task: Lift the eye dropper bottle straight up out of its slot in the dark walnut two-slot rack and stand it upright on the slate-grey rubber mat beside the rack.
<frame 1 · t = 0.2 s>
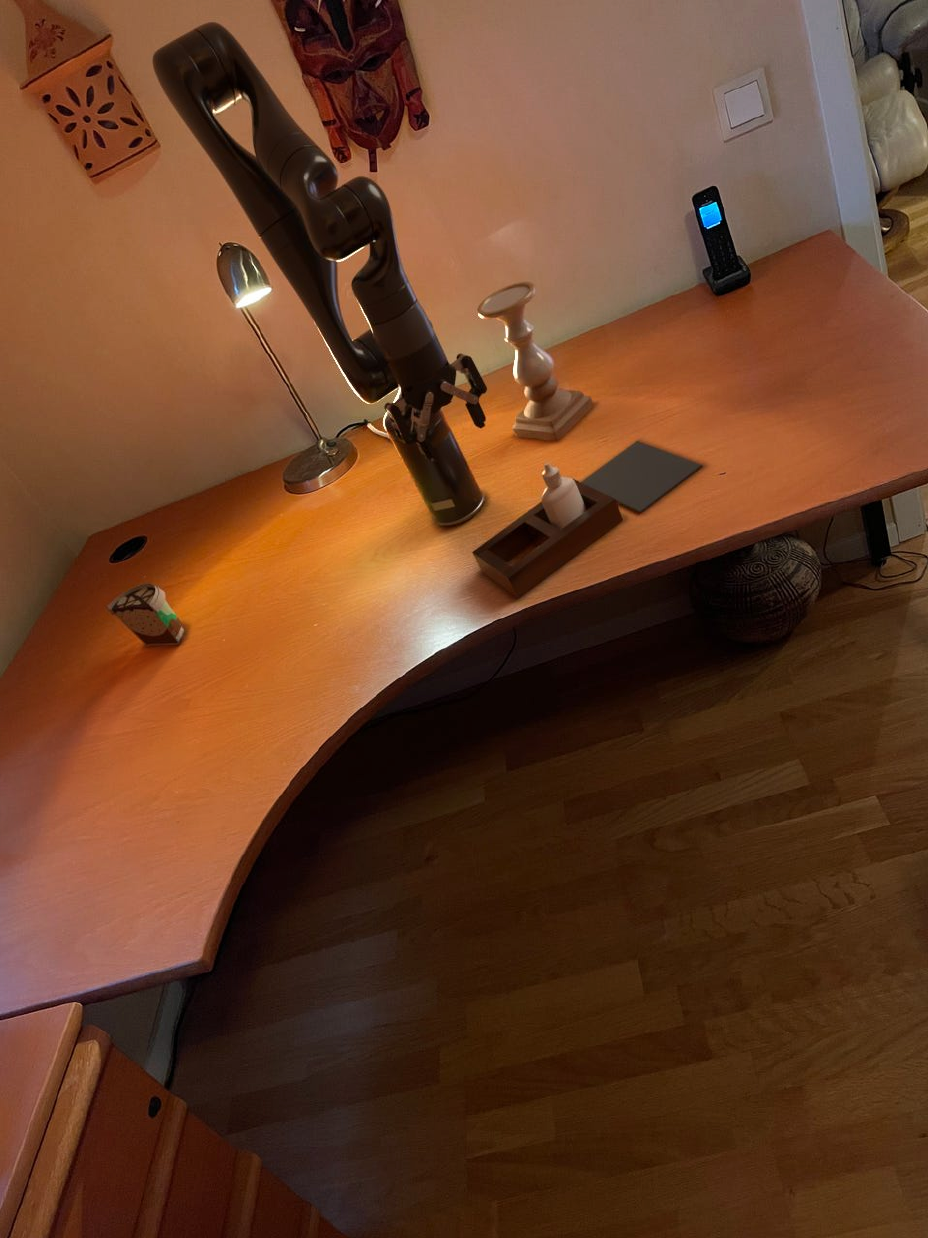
hand: (457, 442, 120), 17 cm above the table, tool pointing down, fingers open, 8 cm apart
mat: (639, 476, 126), on the table
eye dropper bottle: (574, 530, 123), resting in rack
food container: (173, 633, 151), on the table
rack: (551, 546, 122), on the table
candle holder: (554, 421, 150), on the table
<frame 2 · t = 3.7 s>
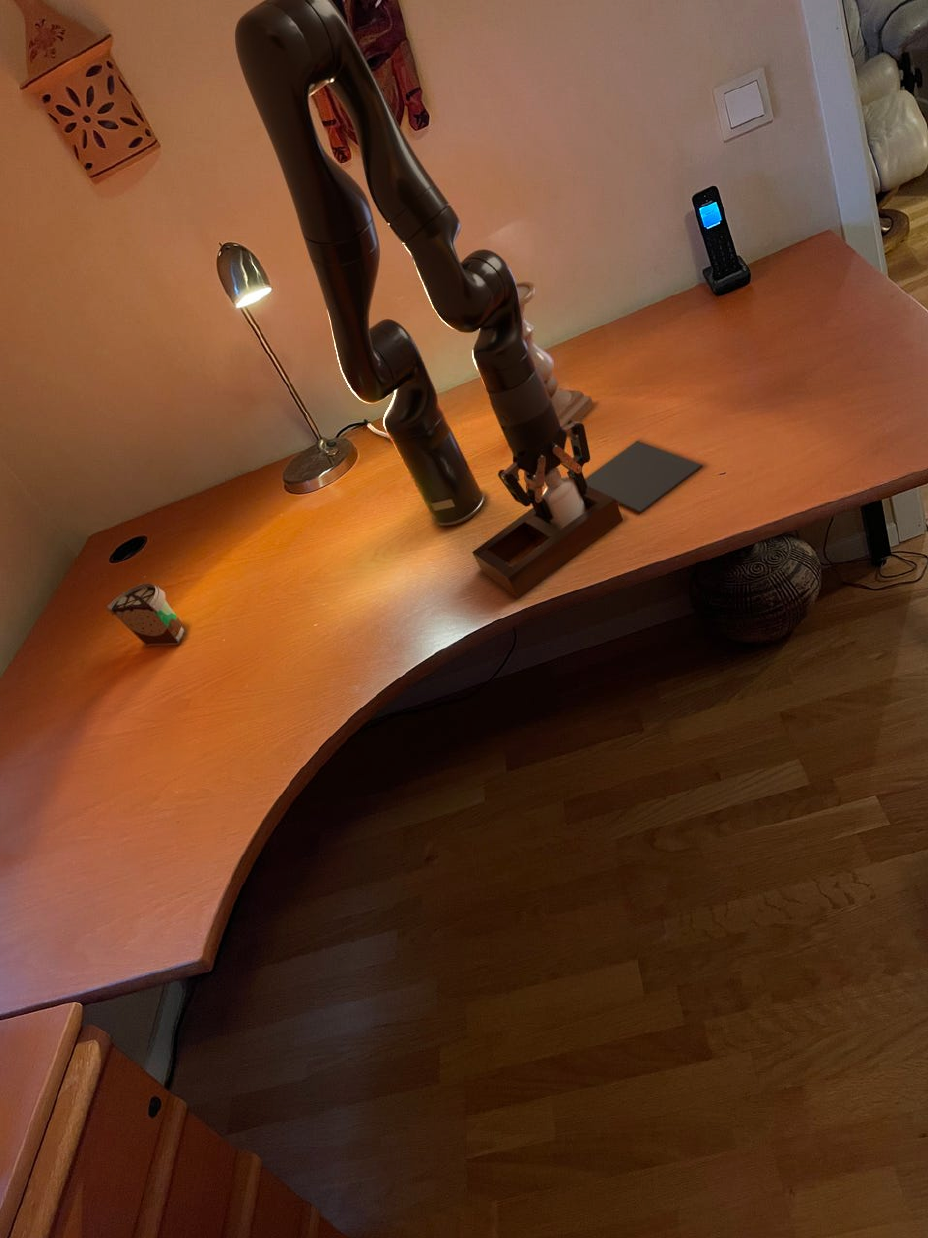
hand: (564, 505, 120), 5 cm above the table, tool pointing down, fingers closed on eye dropper bottle, 5 cm apart
eye dropper bottle: (574, 530, 123), resting in rack, touching gripper
everything else where it was.
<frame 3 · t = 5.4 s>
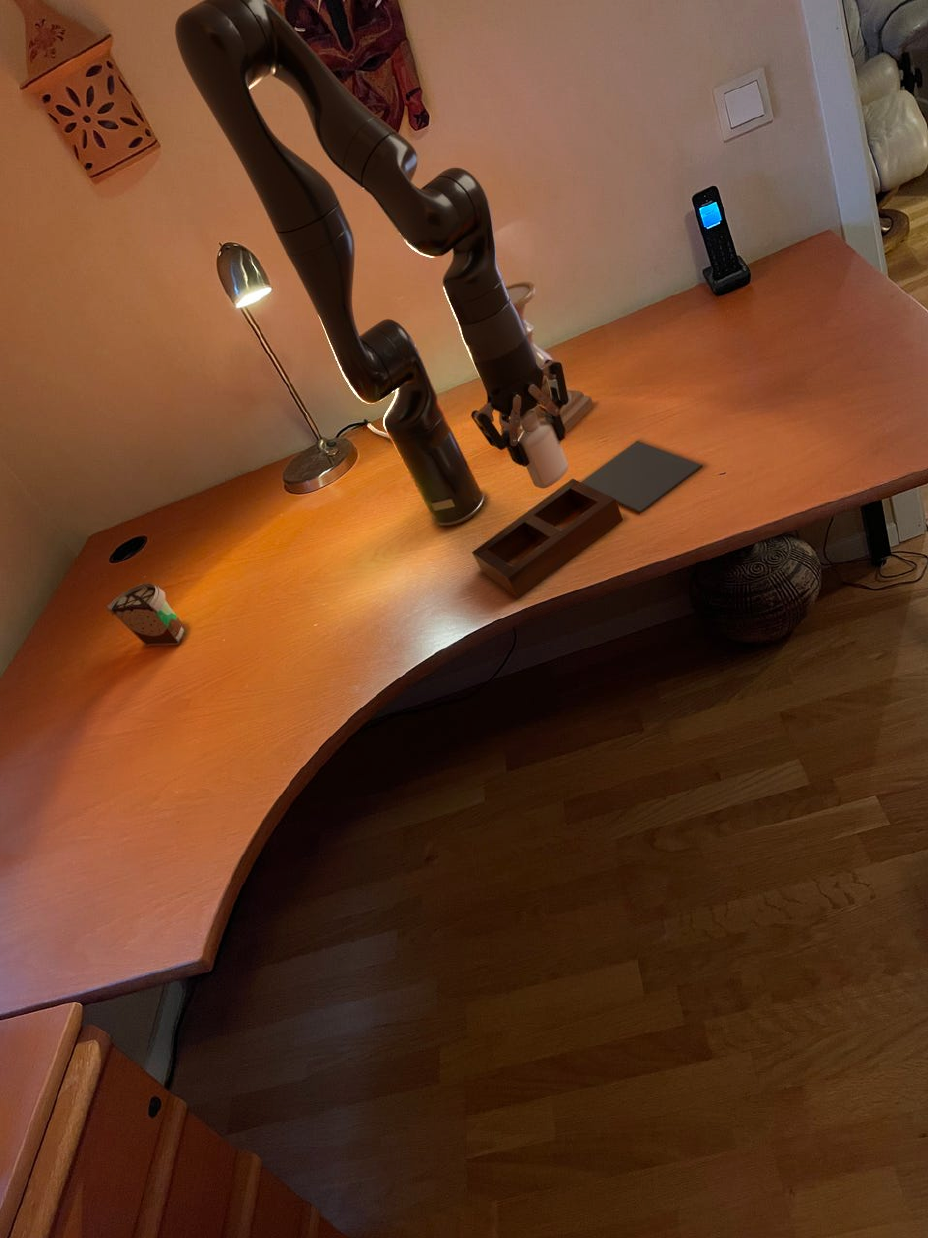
hand: (541, 450, 115), 14 cm above the table, tool pointing down, fingers closed on eye dropper bottle, 5 cm apart
eye dropper bottle: (552, 478, 118), point 9 cm above the table, touching gripper
everything else where it was.
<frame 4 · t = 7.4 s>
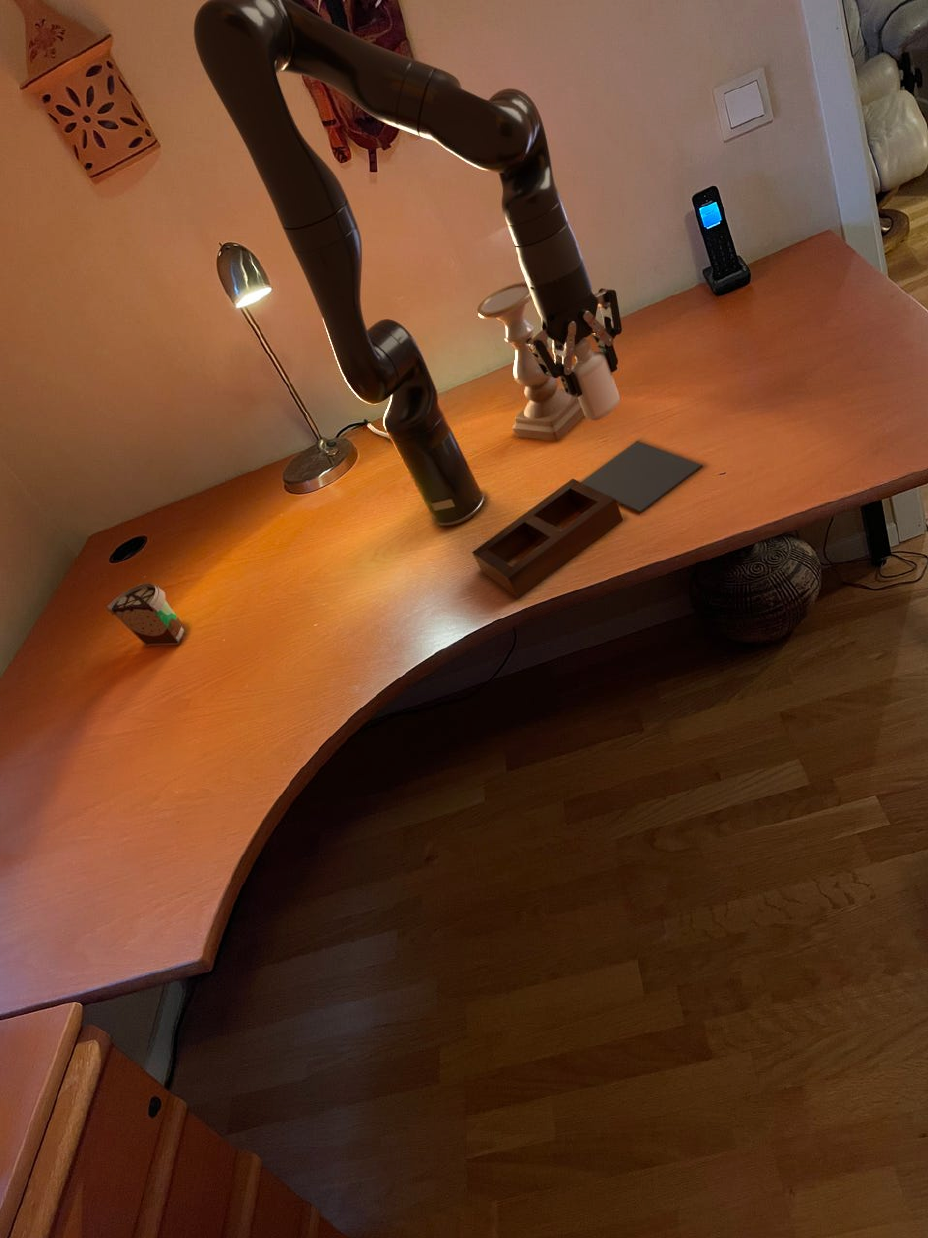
hand: (593, 382, 115), 18 cm above the table, tool pointing down, fingers closed on eye dropper bottle, 5 cm apart
eye dropper bottle: (604, 411, 118), point 13 cm above the table, touching gripper
everything else where it was.
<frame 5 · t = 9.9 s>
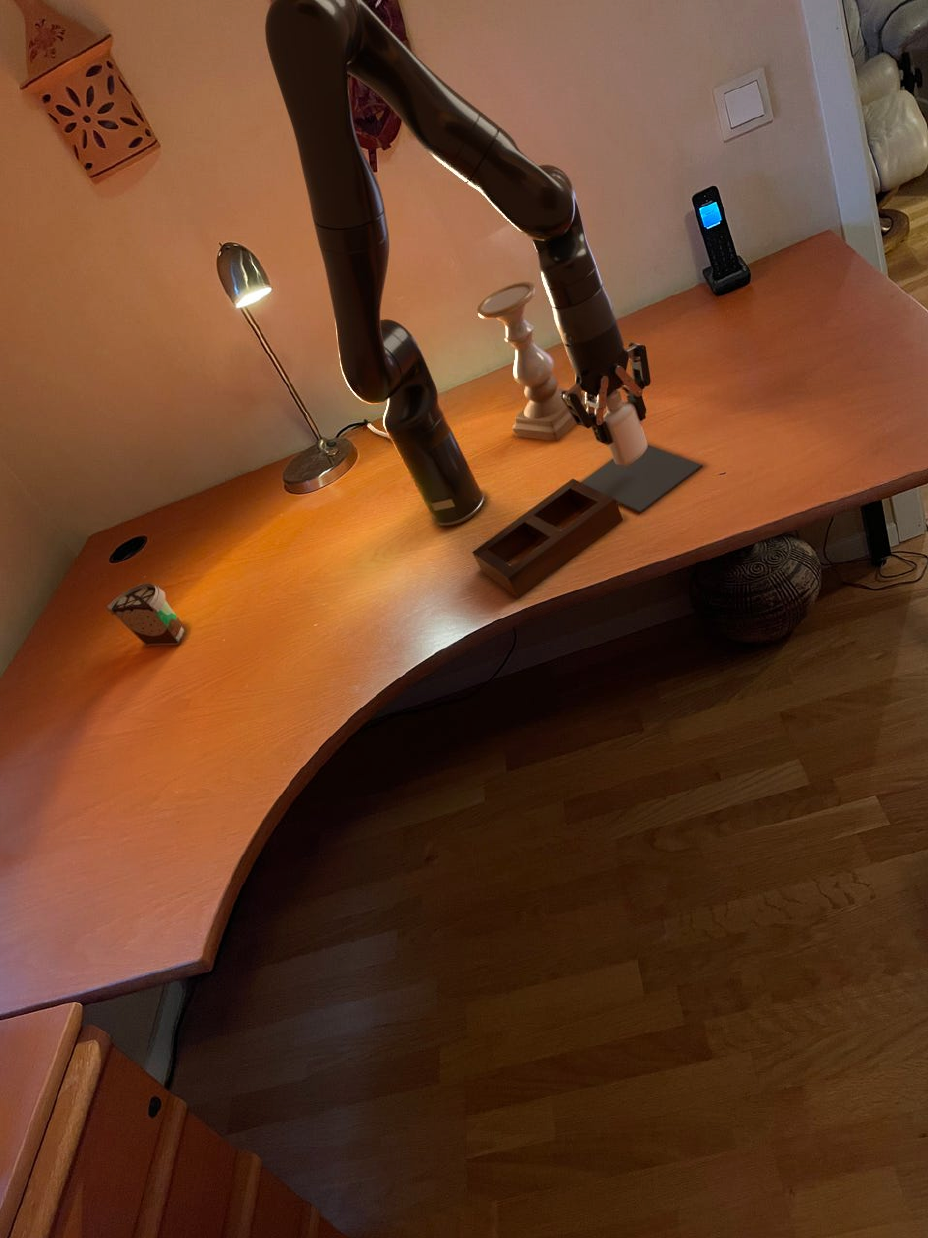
hand: (623, 430, 121), 8 cm above the table, tool pointing down, fingers closed on eye dropper bottle, 5 cm apart
eye dropper bottle: (632, 456, 124), point 4 cm above the table, touching gripper
everything else where it was.
when the fingers open (5 cm above the table, at t = 11.4 s): eye dropper bottle stays where it is, resting on mat.
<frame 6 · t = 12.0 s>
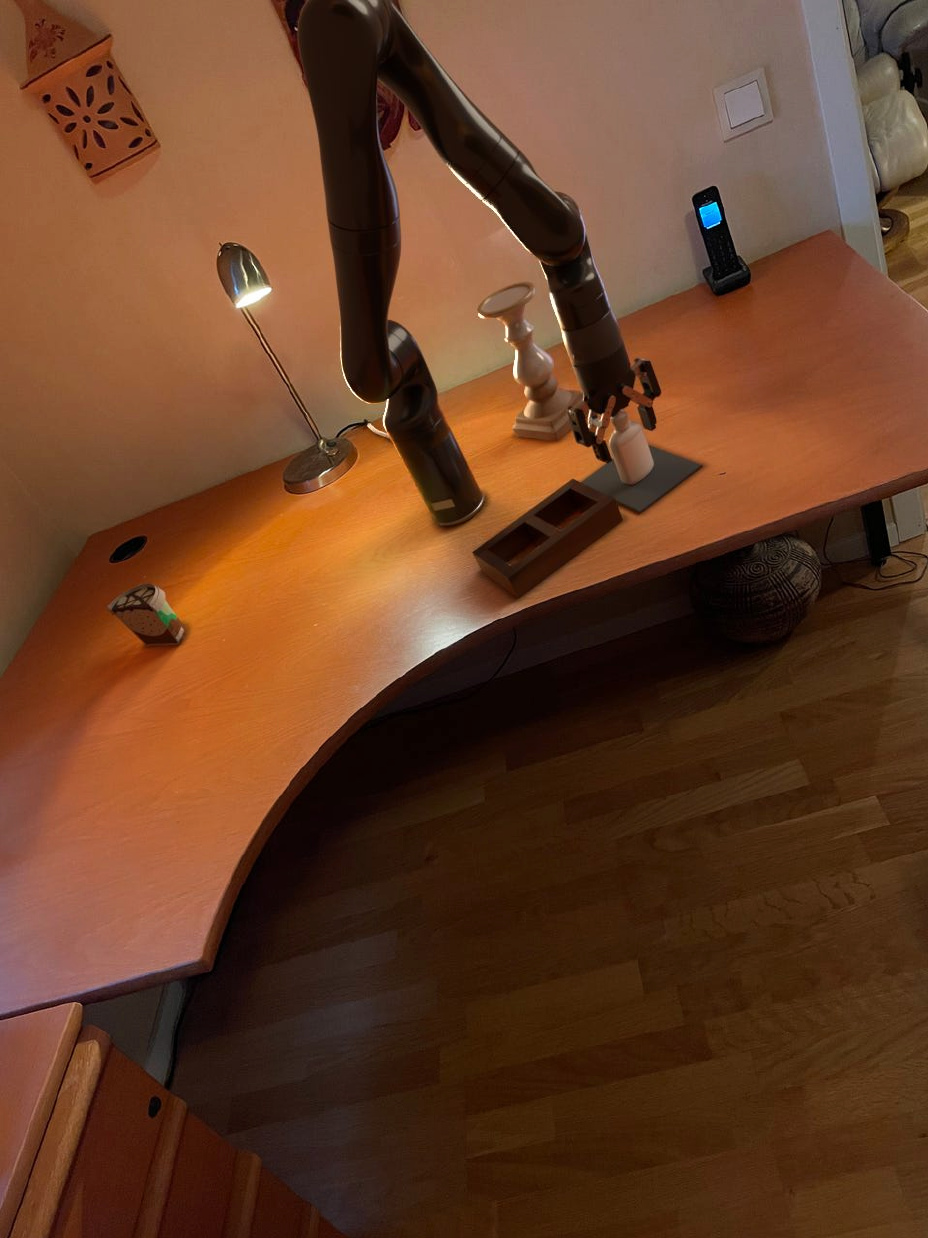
hand: (628, 444, 123), 6 cm above the table, tool pointing down, fingers open, 8 cm apart
eye dropper bottle: (638, 475, 126), resting on mat
everything else where it was.
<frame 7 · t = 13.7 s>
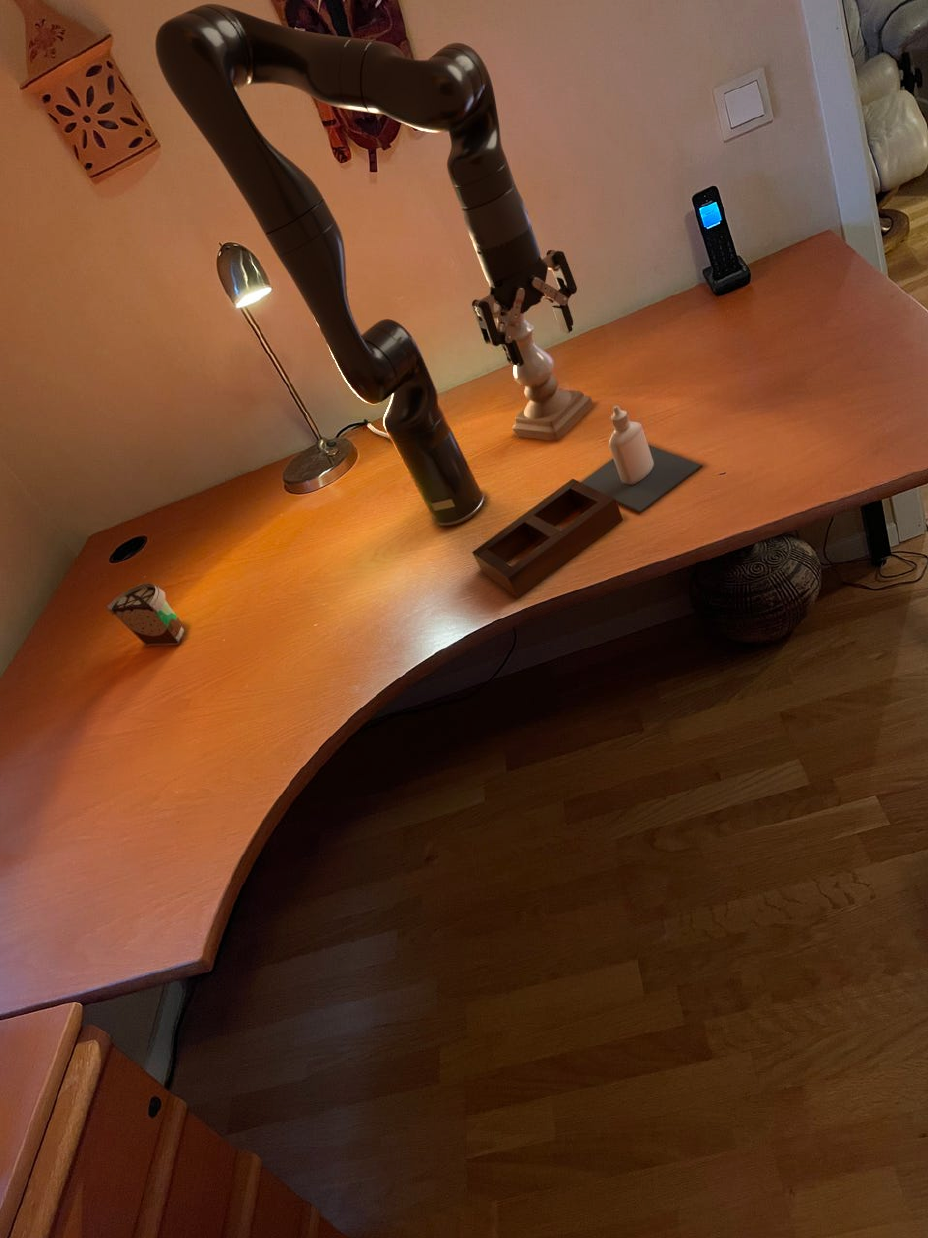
hand: (542, 347, 113), 25 cm above the table, tool pointing down, fingers open, 8 cm apart
nothing on the table moved.
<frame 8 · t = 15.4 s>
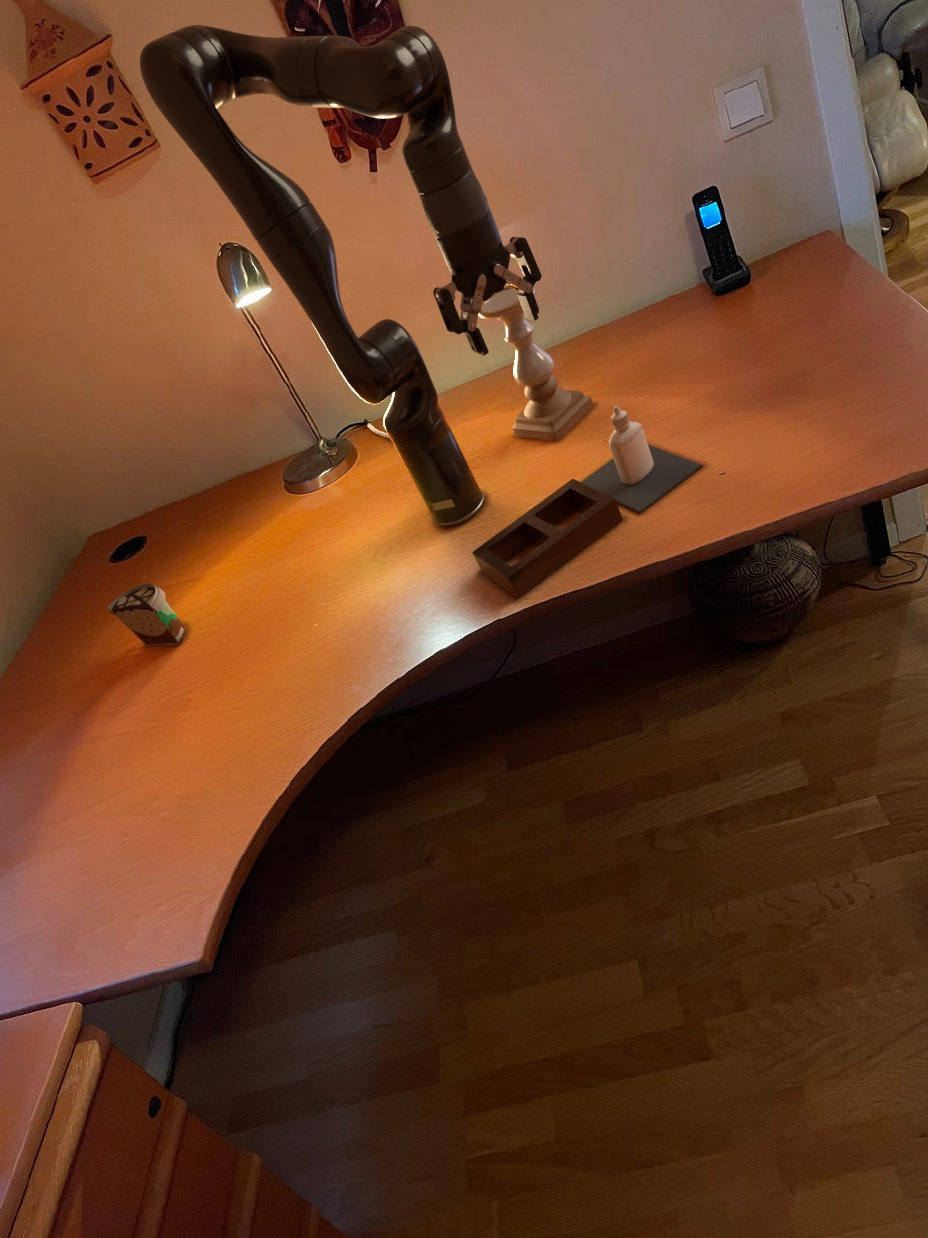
hand: (508, 336, 112), 28 cm above the table, tool pointing down, fingers open, 8 cm apart
nothing on the table moved.
at the end: eye dropper bottle inside the target area on the mat (0.1 cm from its centre), point 0.2 cm above the mat's base; eye dropper bottle tilted 0°; the gripper is holding nothing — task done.
